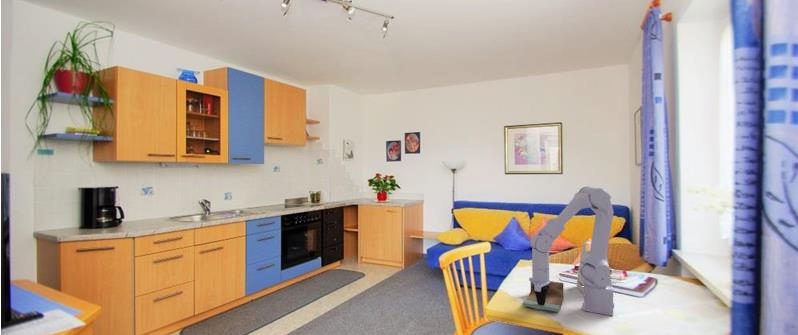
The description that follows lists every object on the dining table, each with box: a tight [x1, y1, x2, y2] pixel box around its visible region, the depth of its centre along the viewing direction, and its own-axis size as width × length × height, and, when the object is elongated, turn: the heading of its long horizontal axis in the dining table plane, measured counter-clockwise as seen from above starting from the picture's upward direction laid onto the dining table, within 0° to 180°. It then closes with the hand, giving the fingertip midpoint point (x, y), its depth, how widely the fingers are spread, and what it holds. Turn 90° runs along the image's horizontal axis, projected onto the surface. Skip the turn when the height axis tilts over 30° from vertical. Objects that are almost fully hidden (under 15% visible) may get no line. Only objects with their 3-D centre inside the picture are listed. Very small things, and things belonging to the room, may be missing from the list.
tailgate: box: [522, 299, 561, 313], centre depth 132 cm, size 12×1×6 cm
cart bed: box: [525, 280, 565, 310], centre depth 139 cm, size 12×10×6 cm
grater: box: [576, 241, 613, 294], centre depth 149 cm, size 10×10×20 cm
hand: (541, 304), depth 131 cm, fingers closed, pressing on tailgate
